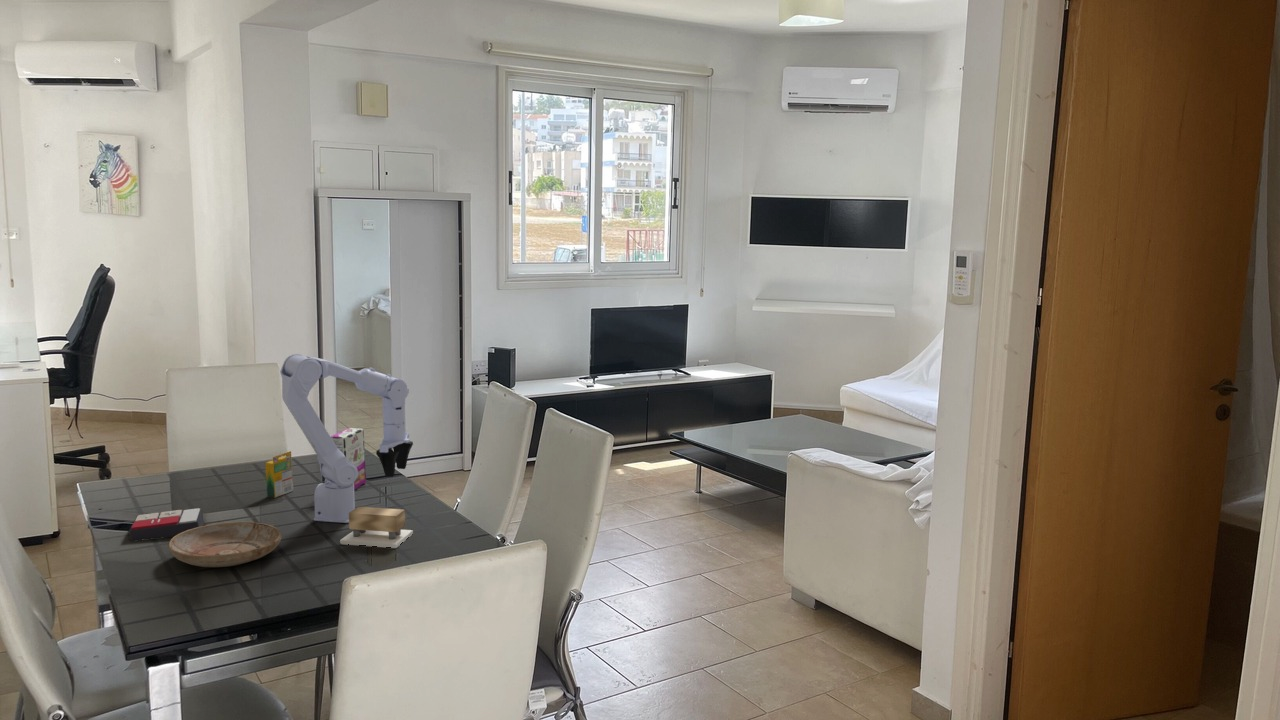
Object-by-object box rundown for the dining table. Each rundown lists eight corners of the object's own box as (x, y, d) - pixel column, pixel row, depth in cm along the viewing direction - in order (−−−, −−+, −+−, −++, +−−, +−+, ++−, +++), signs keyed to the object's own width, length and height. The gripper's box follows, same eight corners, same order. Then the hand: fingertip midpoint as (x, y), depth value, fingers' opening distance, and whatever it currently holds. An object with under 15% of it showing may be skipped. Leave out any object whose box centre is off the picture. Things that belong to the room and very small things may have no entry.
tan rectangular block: (349, 528, 226) (348, 512, 225) (358, 522, 230) (358, 506, 230) (396, 532, 224) (396, 516, 223) (405, 525, 229) (404, 509, 228)
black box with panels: (135, 513, 234) (202, 505, 238) (138, 530, 234) (203, 521, 239) (128, 527, 223) (197, 518, 228) (130, 545, 224) (199, 535, 229)
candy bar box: (350, 482, 275) (348, 427, 272) (366, 483, 274) (364, 428, 271) (330, 493, 264) (328, 436, 261) (347, 494, 263) (345, 437, 260)
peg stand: (340, 544, 224) (339, 532, 223) (359, 530, 234) (359, 518, 233) (396, 548, 222) (395, 536, 221) (412, 534, 231) (412, 522, 231)
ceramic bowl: (212, 585, 199) (211, 563, 198) (148, 562, 211) (146, 541, 210) (303, 553, 218) (302, 532, 217) (239, 534, 230) (238, 514, 230)
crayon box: (285, 489, 266) (283, 449, 265) (293, 491, 265) (291, 451, 264) (266, 496, 260) (264, 455, 258) (275, 498, 259) (273, 457, 257)
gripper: (397, 429, 242) (398, 480, 244) (419, 417, 256) (420, 466, 258) (371, 428, 243) (372, 479, 245) (394, 416, 257) (396, 464, 259)
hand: (395, 472), depth 251 cm, fingers open, 7 cm apart
